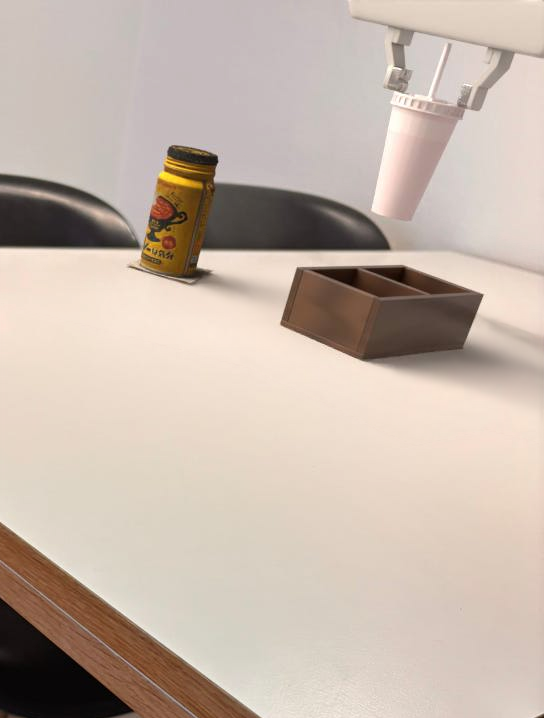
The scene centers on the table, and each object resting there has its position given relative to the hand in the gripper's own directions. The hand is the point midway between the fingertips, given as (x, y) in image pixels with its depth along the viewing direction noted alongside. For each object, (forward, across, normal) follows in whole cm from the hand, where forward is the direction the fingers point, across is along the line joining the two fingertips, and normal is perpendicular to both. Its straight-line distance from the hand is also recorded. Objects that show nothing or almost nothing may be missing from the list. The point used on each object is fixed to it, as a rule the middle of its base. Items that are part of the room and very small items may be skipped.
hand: (429, 99), depth 93 cm
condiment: (+21, +22, +3) cm, 31 cm away
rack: (+21, 0, -4) cm, 22 cm away
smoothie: (+10, 0, 0) cm, 10 cm away
